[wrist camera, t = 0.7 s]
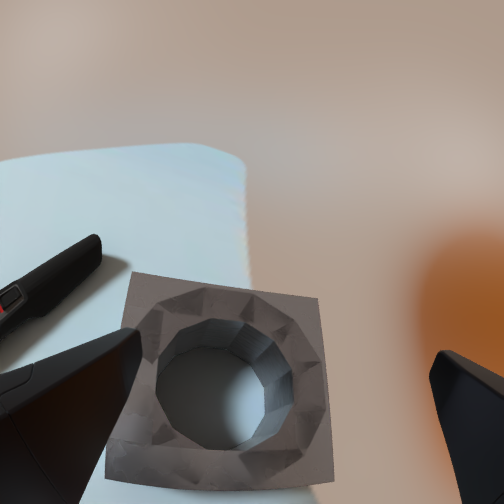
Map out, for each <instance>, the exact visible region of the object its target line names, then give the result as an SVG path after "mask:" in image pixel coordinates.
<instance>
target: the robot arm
mask: <svg viewBox="0 0 504 504" xmlns="http://www.w3.org/2000/svg"><path fill="white" fill-rule="evenodd" d="M142 357H143V350H142V342H141V334H140V331H139V330H138V329H135V328H130V327H125V328H122V329H120V330H117V331H115V332H112V333H110V334H107V335H105V336H102V337H99V338H97V339H94V340H92V341H89V342H87V343H84V344H82V345H79V346H76V347H74V348H71V349H69V350H66V351H63V352H61V353H58V354H56V355H53V356H50V357H48V358H45V359H42V360H40V361H37V362H35V363H34V364H33V363H32V364H29V365H26V366H24V367H21V368H18V369H15V370H12V371H9V372H6V373H3V374H0V504H79V502H80V500H81V498H82V495H83V493H84V491H85V489H86V486H87V484H88V482H89V480H90V478H91V475H92V473H93V471H94V469H95V467H96V465H97V462H98V460H99V458H100V456H101V454H102V452H103V450H104V447H105V445H106V443H107V441H108V439H109V437H110V435H111V433H112V431H113V429H114V427H115V425H116V423H117V421H118V418H119V416H120V414H121V412H122V410H123V408H124V406H125V404H126V402H127V400H128V397H129V395H130V392H131V389H132V386H133V383H134V381H135V378H136V375H137V372H138V369H139V367H140V364H141V361H142ZM429 380H430V384H431V388H432V393H433V397H434V401H435V406H436V410H437V414H438V418H439V422H440V425H441V428H442V431H443V434H444V437H445V441H446V444H447V447H448V450H449V454H450V457H451V461H452V465H453V468H454V472H455V476H456V480H457V484H458V488H459V492H460V496H461V500H462V504H504V378H503V377H501V376H499V375H497V374H496V373H494V372H492V371H490V370H488V369H486V368H484V367H482V366H480V365H478V364H476V363H474V362H473V361H471V360H469V359H467V358H465V357H463V356H461V355H459V354H457V353H455V352H453V351H451V350H442V351H439V352H438V353H437V355H436V358H435V360H434V363H433V365H432V368H431V370H430V373H429Z"/></svg>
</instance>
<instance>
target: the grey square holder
mask: <svg viewBox="0 0 504 504" xmlns="http://www.w3.org/2000/svg"><path fill="white" fill-rule="evenodd" d="M125 327H130V328H135V329H138V330H139V331H140V334H141V342H142V350H143V357H142V361H141V364H140V367H139V369H138V372H137V375H136V378H135V381H134V383H133V386H132V389H131V392H130V395H129V397H128V400H127V402H126V404H125V406H124V408H123V410H122V412H121V414H120V416H119V418H118V421H117V423H116V425H115V427H114V429H113V431H112V433H111V435H110V437H109V439H108V441H107V443H106V459H105V479H109V480H115V481H120V482H126V483H132V484H139V485H146V486H154V487H164V488H174V489H188V490H213V491H240V490H264V489H278V488H289V487H298V486H307V485H314V484H321V483H327V482H333V481H334V463H333V447H332V431H331V419H330V406H329V394H328V385H327V384H328V383H327V373H326V364H325V354H324V346H323V337H322V329H321V320H320V313H319V305H318V299H317V298H310V297H302V296H294V295H286V294H278V293H271V292H263V291H256V290H249V289H241V288H234V287H227V286H220V285H214V284H207V283H200V282H194V281H187V280H181V279H175V278H168V277H162V276H156V275H150V274H144V273H138V272H132V274H131V279H130V283H129V288H128V293H127V298H126V302H125V308H124V313H123V318H122V323H121V329H122V328H125ZM197 347H208V348H217V349H227V350H228V351H230V352H231V353H233V354H235V355H236V356H238V357H239V358H241V359H242V360H244V361H246V362H247V363H249V364H250V365H251V367H252V368H253V370H254V372H255V373H256V375H257V377H258V378H259V380H260V382H261V383H262V385H263V387H264V397H265V416H264V417H263V419H262V421H261V423H260V424H259V426H258V428H257V430H256V431H255V433H254V435H253V436H252V438H251V439H249V440H247V441H245V442H244V443H242V444H240V445H238V446H236V447H234V448H232V449H230V450H207V449H205V448H204V447H202V446H200V445H199V444H197V443H195V442H194V441H192V440H190V439H189V438H187V437H186V436H184V435H182V434H181V433H179V432H178V431H176V430H175V429H173V428H172V426H171V424H170V422H169V420H168V418H167V416H166V414H165V412H164V411H163V409H162V407H161V405H160V403H159V401H158V399H157V397H156V384H157V378H158V376H159V375H160V374H161V372H162V371H163V370H164V369H165V367H166V366H167V365H168V363H169V362H170V361H171V359H172V358H173V357H174V356H176V355H179V354H182V353H184V352H187V351H189V350H192V349H194V348H197Z"/></svg>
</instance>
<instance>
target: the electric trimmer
mask: <svg viewBox="0 0 504 504" xmlns="http://www.w3.org/2000/svg"><path fill="white" fill-rule="evenodd" d="M101 261H102V244H101V240H100V238H99V236H98V235H96V234H92V235H90V236H88V237H86V238H85V239H83V240H81V241H79V242H78V243H76V244H74V245H73V246H71V247H69V248H68V249H66V250H64V251H63V252H61V253H59V254H58V255H56V256H55V257H53V258H51V259H50V260H48V261H47V262H45V263H43V264H42V265H40V266H39V267H37V268H36V269H34V270H32V271H31V272H29V273H28V274H26V275H25V276H23V277H22V278H20V279H18V280H16V281H14V282H12V283H10V284H9V285H7V286H6V287H4V288H3V289H1V290H0V341H1V340H2V339H3V338H5V337H6V336H7V335H8V334H10V333H11V332H12V331H13V330H14V329H16V328H17V327H18V326H19V325H21V324H22V323H23V322H24V321H26V320H27V319H29V318H35V317H43V316H45V315H46V314H47V313H48V312H50V311H51V310H52V309H53V308H54V307H55V306H56V305H57V304H58V303H60V302H61V301H62V300H63V299H64V298H65V297H66V296H67V295H68V294H69V293H70V292H71V291H72V290H73V289H74V288H75V287H77V286H78V285H79V284H80V283H81V282H82V281H83V280H84V279H85V278H86V277H87V276H89V275H90V274H91V273H92V272H93V271H94V270H95V269H96V268H97V267H98V266H99V265H100V263H101Z"/></svg>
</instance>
